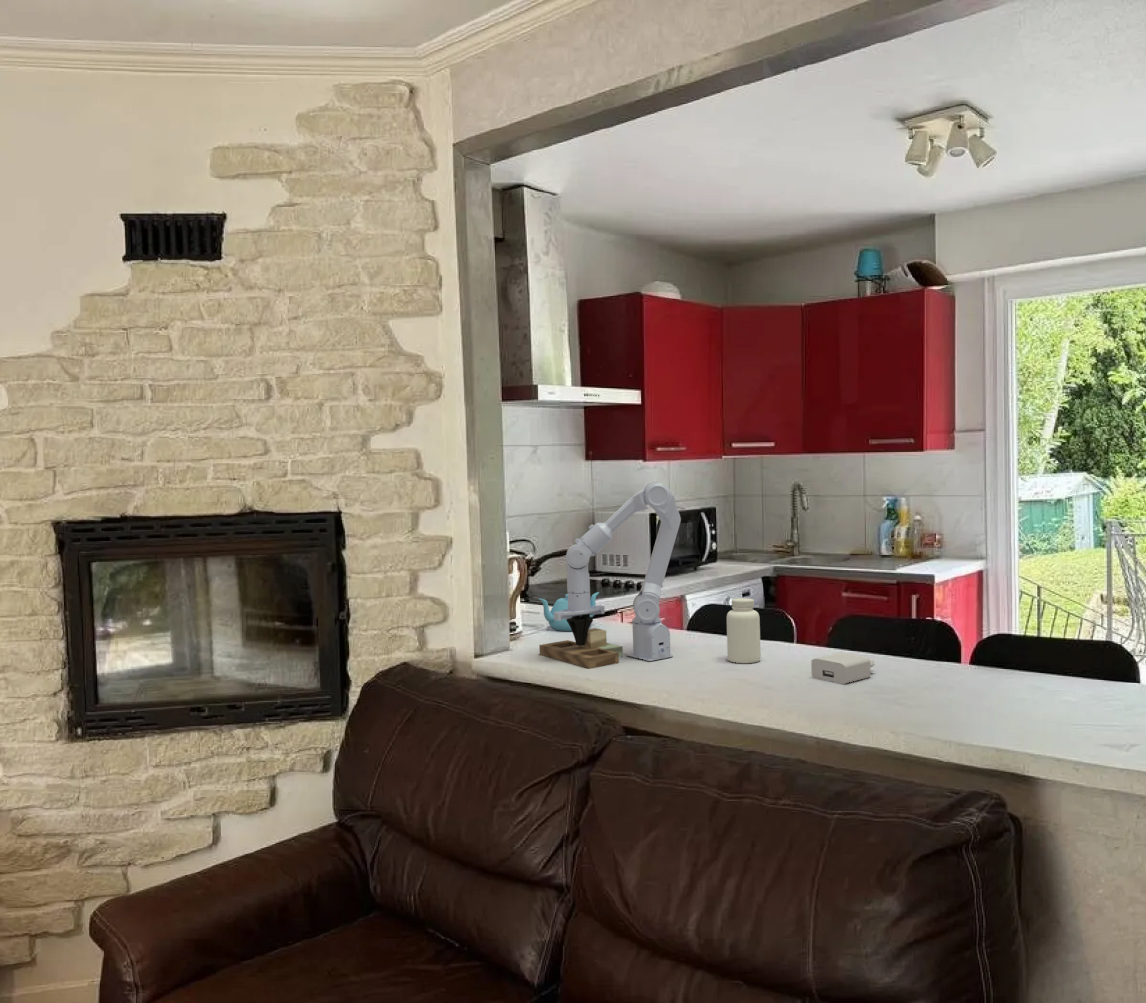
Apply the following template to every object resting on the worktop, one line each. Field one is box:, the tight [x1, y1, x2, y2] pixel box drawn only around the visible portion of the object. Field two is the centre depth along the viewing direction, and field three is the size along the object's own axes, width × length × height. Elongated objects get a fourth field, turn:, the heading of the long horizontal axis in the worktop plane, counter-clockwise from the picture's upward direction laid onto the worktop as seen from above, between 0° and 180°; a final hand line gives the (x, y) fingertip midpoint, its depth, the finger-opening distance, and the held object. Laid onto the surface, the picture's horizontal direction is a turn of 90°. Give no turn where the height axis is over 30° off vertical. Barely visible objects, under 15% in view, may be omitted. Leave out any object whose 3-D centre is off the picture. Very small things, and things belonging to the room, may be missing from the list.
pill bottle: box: [726, 597, 762, 664], centre depth 231 cm, size 8×8×15 cm
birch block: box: [582, 627, 608, 649], centre depth 242 cm, size 5×5×4 cm
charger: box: [810, 652, 876, 685], centre depth 213 cm, size 5×9×15 cm
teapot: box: [538, 591, 600, 632], centre depth 282 cm, size 15×15×10 cm
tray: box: [539, 640, 623, 669], centre depth 241 cm, size 22×14×2 cm, turn 35°
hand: (580, 645), depth 240 cm, fingers closed
